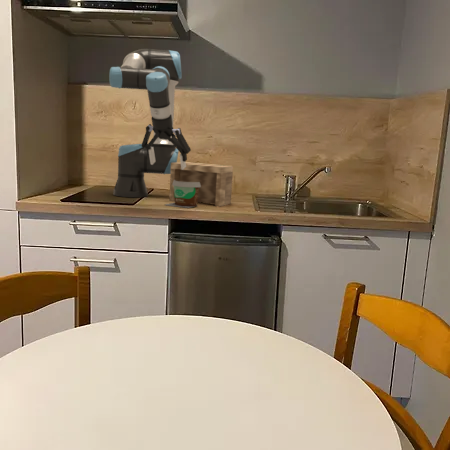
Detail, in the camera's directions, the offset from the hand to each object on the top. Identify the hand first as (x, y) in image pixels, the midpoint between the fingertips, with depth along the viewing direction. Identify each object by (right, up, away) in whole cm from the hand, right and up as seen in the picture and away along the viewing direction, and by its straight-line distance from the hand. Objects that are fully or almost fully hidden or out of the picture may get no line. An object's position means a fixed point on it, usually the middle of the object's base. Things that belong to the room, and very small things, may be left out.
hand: (168, 165), depth 208 cm
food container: (+5, -16, +9) cm, 19 cm away
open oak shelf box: (+11, -13, +24) cm, 30 cm away
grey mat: (+4, -15, +10) cm, 19 cm away
